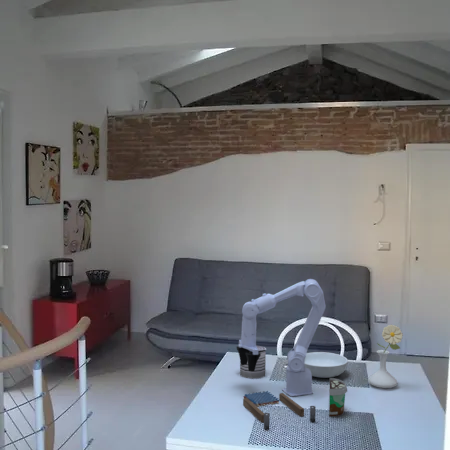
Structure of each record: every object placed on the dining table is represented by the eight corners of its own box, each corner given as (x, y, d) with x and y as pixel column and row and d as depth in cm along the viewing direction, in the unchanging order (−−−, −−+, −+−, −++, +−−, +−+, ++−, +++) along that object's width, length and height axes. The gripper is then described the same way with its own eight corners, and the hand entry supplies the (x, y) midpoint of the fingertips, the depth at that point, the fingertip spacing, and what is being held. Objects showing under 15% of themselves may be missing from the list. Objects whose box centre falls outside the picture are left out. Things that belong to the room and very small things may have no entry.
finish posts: (313, 420, 178) (313, 405, 178) (316, 422, 177) (316, 407, 176) (262, 428, 172) (263, 413, 171) (265, 430, 170) (265, 415, 170)
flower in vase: (366, 388, 209) (367, 325, 208) (369, 379, 219) (370, 319, 218) (400, 392, 204) (402, 328, 203) (402, 383, 214) (403, 322, 213)
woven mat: (242, 399, 199) (242, 393, 198) (267, 395, 202) (267, 389, 202) (253, 409, 189) (253, 403, 189) (280, 404, 193) (280, 399, 193)
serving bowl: (311, 364, 240) (311, 349, 240) (355, 372, 228) (355, 357, 227) (288, 376, 223) (289, 360, 223) (335, 386, 211) (335, 369, 211)
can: (234, 374, 224) (234, 347, 224) (250, 368, 233) (250, 341, 232) (255, 380, 217) (255, 352, 216) (271, 374, 226) (271, 346, 225)
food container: (347, 419, 179) (348, 390, 178) (329, 418, 180) (329, 389, 179) (346, 405, 191) (347, 378, 190) (329, 404, 192) (329, 377, 191)
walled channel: (282, 399, 197) (282, 392, 196) (304, 415, 182) (304, 408, 181) (243, 405, 191) (243, 398, 191) (261, 422, 176) (261, 415, 176)
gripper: (232, 329, 210) (231, 363, 211) (246, 338, 196) (245, 374, 197) (248, 328, 212) (247, 361, 213) (264, 337, 199) (262, 373, 200)
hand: (247, 367), depth 205 cm, fingers open, 7 cm apart
